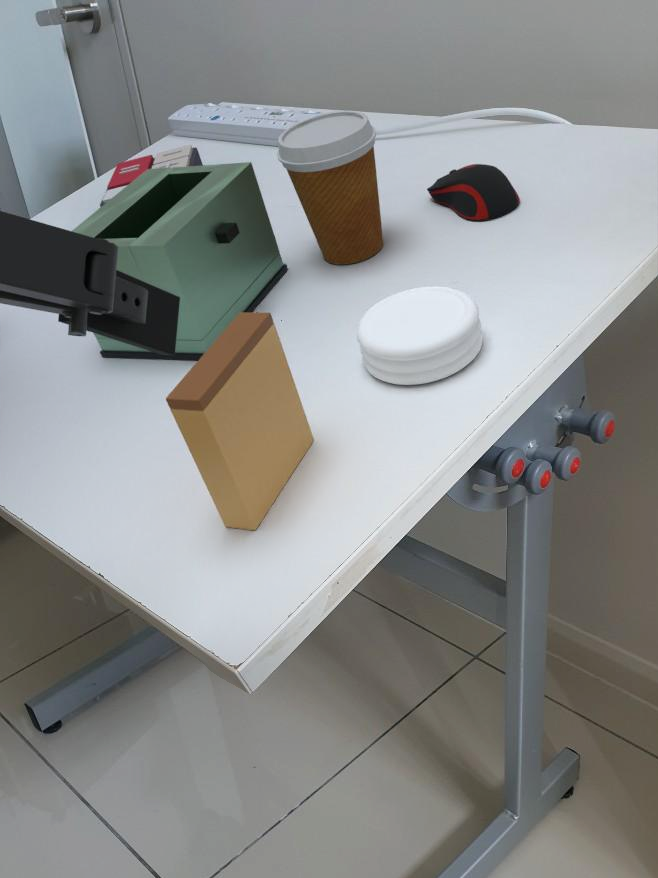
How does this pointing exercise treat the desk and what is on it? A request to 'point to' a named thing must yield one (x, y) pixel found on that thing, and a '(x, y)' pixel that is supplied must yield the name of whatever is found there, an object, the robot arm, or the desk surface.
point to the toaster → (192, 248)
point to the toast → (243, 419)
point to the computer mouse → (476, 192)
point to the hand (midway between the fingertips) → (60, 325)
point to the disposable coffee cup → (336, 182)
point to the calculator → (149, 167)
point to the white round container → (420, 335)
